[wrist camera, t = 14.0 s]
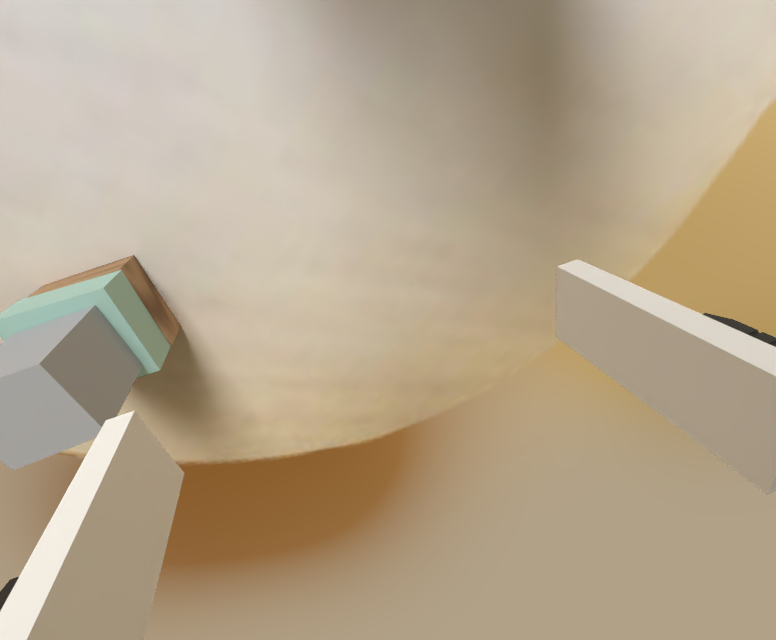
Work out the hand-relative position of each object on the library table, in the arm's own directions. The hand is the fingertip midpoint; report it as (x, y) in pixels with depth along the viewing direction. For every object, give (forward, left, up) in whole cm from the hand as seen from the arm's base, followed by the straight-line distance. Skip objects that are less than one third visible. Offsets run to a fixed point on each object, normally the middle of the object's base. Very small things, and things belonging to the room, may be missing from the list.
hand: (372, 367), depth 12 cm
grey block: (+5, -20, -21) cm, 29 cm away
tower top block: (+5, -20, -25) cm, 32 cm away
